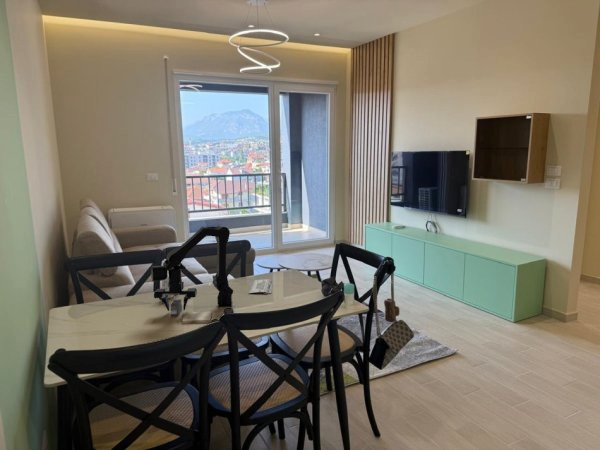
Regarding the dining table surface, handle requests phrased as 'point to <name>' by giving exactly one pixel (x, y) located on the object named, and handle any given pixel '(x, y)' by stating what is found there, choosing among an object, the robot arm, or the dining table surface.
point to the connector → (176, 307)
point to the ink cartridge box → (166, 286)
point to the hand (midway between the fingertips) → (176, 310)
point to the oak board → (197, 317)
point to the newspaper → (261, 286)
